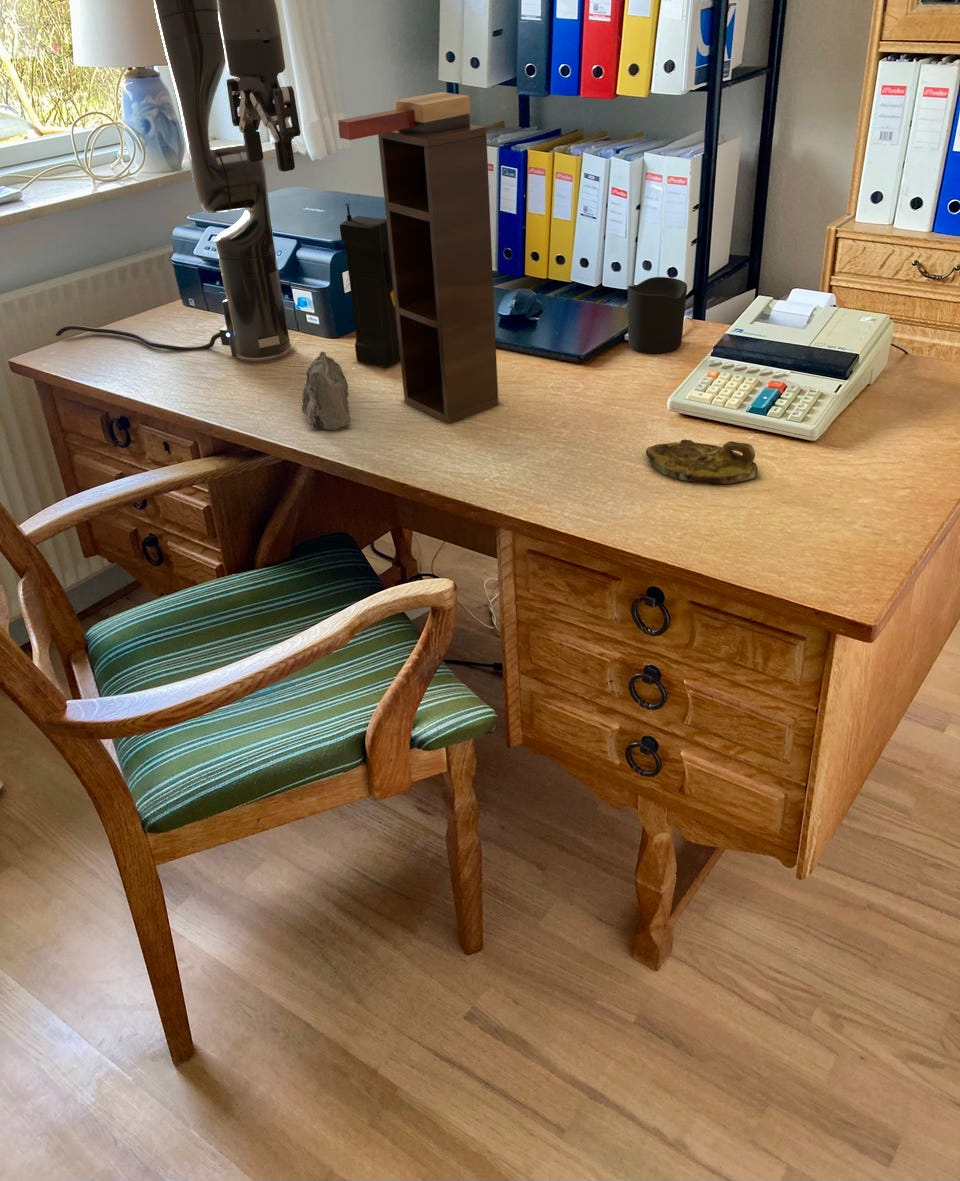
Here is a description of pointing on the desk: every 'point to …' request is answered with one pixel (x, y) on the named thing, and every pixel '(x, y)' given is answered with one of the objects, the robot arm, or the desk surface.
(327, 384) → the mineral rock
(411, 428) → the desk surface
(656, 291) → the pen holder
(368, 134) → the brush
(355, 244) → the portable radio
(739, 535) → the desk surface
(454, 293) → the shelf
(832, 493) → the desk surface
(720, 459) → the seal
